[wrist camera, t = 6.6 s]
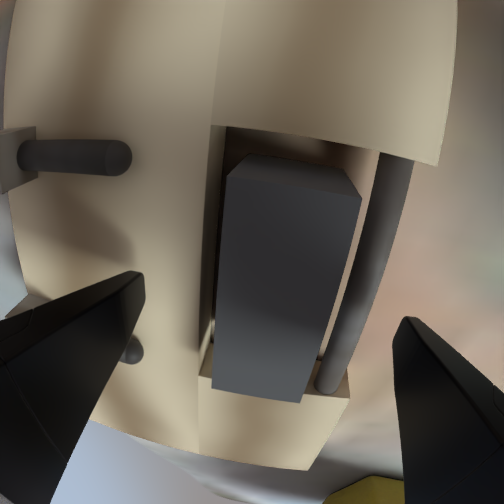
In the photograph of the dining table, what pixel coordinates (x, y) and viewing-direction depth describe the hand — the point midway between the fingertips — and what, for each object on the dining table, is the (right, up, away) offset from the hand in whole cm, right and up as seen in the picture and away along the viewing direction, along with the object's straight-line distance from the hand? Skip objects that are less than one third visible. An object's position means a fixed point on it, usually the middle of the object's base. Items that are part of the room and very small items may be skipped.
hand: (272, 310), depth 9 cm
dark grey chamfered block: (0, +1, +3) cm, 3 cm away
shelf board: (-3, +2, +3) cm, 4 cm away
